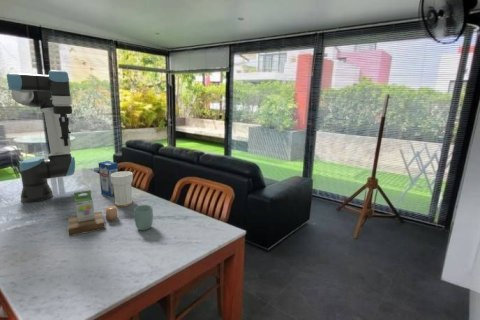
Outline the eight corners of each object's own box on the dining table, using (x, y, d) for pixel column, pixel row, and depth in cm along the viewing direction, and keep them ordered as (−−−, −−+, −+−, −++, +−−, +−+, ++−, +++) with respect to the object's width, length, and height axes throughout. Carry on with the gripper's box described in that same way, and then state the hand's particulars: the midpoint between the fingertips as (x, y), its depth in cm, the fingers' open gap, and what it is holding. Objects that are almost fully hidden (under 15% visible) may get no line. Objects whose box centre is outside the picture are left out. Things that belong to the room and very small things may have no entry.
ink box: (77, 223, 122) (74, 195, 119) (77, 219, 125) (73, 192, 122) (94, 219, 126) (92, 192, 123) (94, 216, 129) (91, 190, 126)
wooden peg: (106, 218, 134) (105, 207, 133) (117, 216, 137) (116, 205, 135) (107, 222, 130) (105, 210, 129) (118, 220, 133) (117, 208, 131)
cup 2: (156, 226, 128) (155, 206, 125) (146, 233, 120) (144, 212, 118) (143, 223, 130) (141, 203, 128) (131, 230, 123) (130, 210, 121)
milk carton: (120, 194, 167) (117, 163, 162) (110, 197, 162) (107, 165, 157) (110, 191, 172) (107, 160, 167) (101, 194, 167) (98, 162, 162)
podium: (69, 222, 129) (68, 217, 128) (102, 216, 136) (101, 211, 135) (68, 235, 117) (68, 229, 116) (104, 228, 124) (104, 222, 123)
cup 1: (108, 205, 150) (105, 175, 146) (123, 198, 160) (121, 170, 157) (124, 208, 146) (121, 177, 142) (138, 201, 156) (137, 172, 152)
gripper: (54, 103, 135) (59, 145, 140) (50, 107, 114) (56, 155, 119) (71, 103, 139) (76, 144, 144) (71, 107, 118) (76, 154, 123)
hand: (67, 149), depth 132 cm, fingers open, 13 cm apart
